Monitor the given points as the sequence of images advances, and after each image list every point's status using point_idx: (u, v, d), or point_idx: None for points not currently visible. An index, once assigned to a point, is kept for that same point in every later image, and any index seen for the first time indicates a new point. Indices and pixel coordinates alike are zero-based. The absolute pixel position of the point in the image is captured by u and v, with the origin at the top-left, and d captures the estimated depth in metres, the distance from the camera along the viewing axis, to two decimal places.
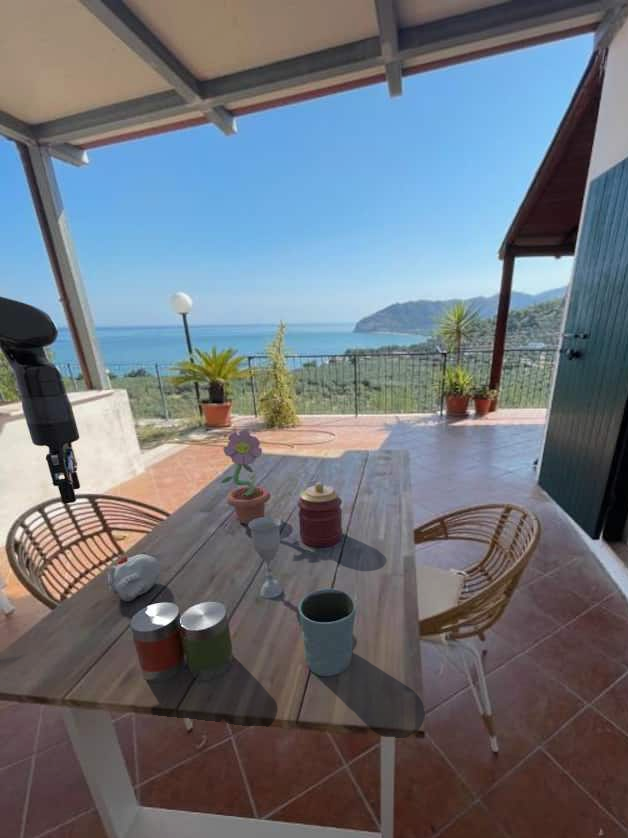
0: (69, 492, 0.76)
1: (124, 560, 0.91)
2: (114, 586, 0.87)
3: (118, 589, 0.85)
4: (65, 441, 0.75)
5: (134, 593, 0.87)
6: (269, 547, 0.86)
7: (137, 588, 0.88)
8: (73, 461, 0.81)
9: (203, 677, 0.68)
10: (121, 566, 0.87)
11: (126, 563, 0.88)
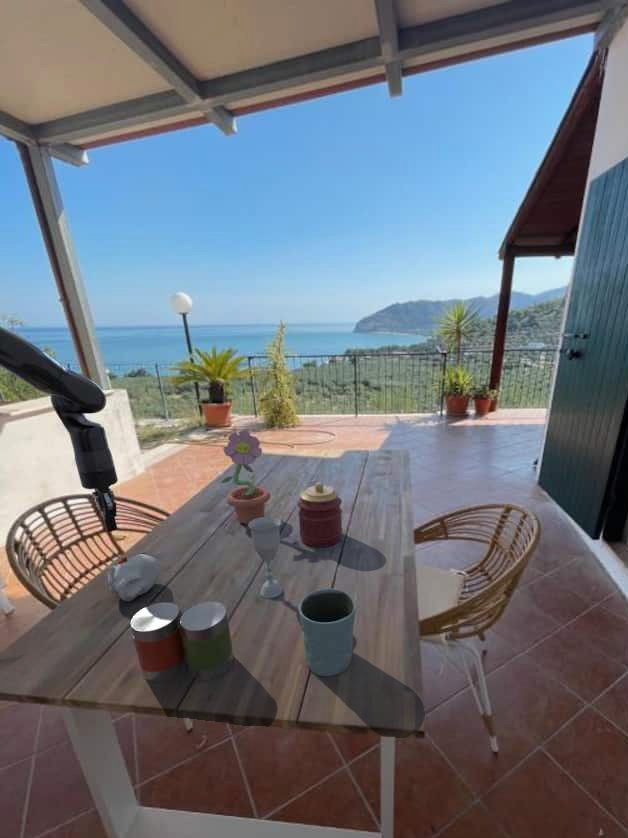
0: (113, 522, 0.99)
1: (124, 560, 0.91)
2: (114, 586, 0.87)
3: (118, 589, 0.85)
4: (111, 483, 0.95)
5: (134, 593, 0.87)
6: (269, 547, 0.86)
7: (137, 588, 0.88)
8: None
9: (203, 677, 0.68)
10: (121, 566, 0.87)
11: (126, 563, 0.88)
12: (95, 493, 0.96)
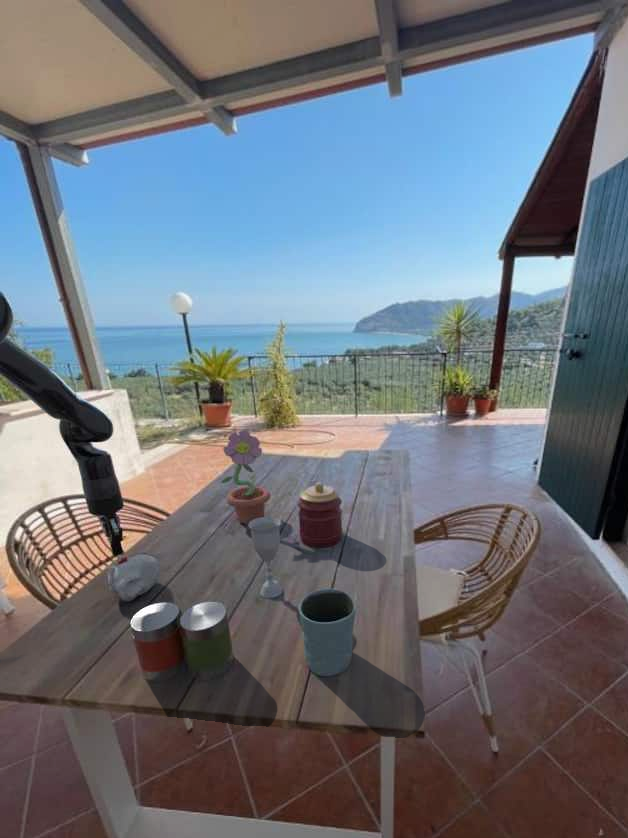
0: (119, 547, 1.01)
1: (124, 560, 0.91)
2: (114, 586, 0.87)
3: (118, 589, 0.85)
4: (118, 509, 0.97)
5: (134, 593, 0.87)
6: (269, 547, 0.86)
7: (137, 588, 0.88)
8: None
9: (203, 677, 0.68)
10: (121, 566, 0.87)
11: (126, 563, 0.88)
12: (101, 518, 0.98)
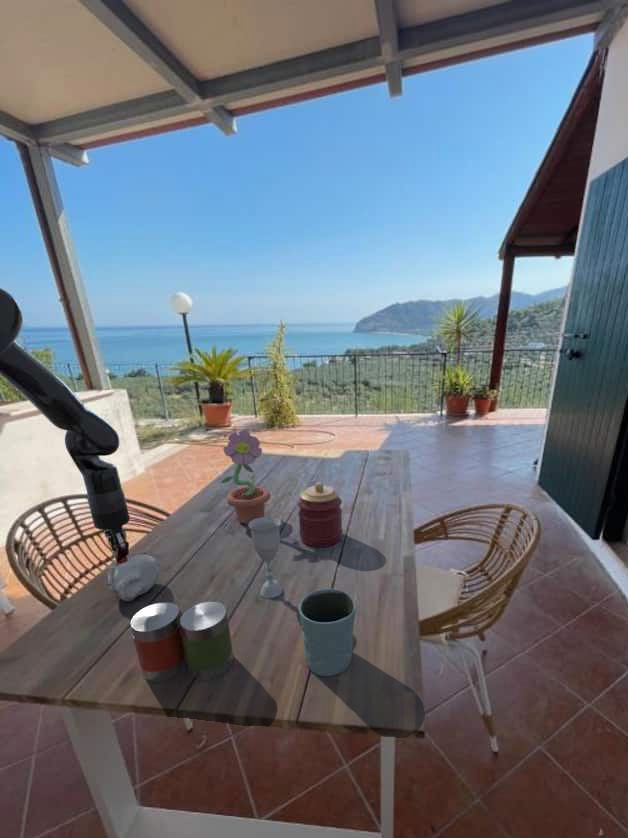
0: None
1: (124, 560, 0.91)
2: (114, 586, 0.87)
3: (118, 589, 0.85)
4: (124, 523, 0.95)
5: (134, 593, 0.87)
6: (269, 547, 0.86)
7: (137, 588, 0.88)
8: None
9: (203, 677, 0.68)
10: (121, 566, 0.87)
11: (126, 563, 0.88)
12: (107, 532, 0.96)
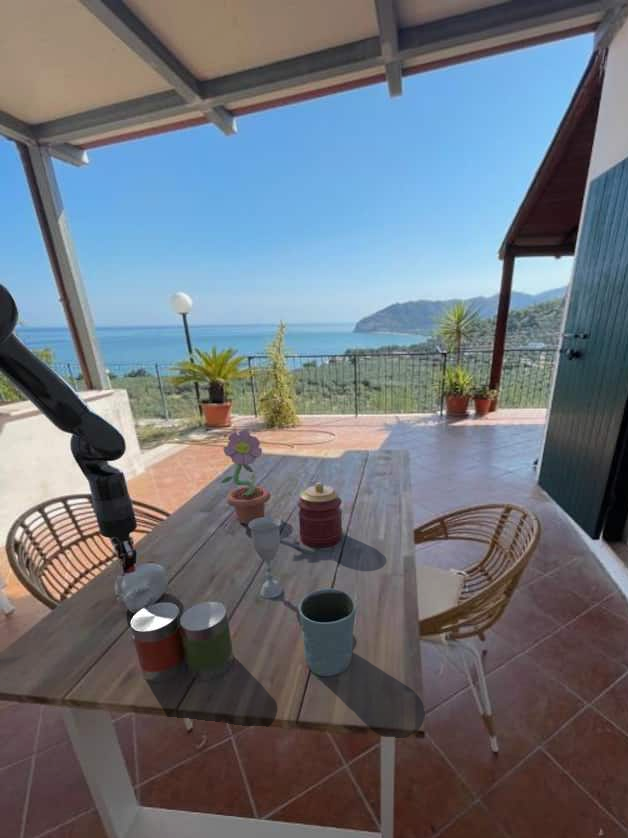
0: None
1: (132, 569, 0.87)
2: (121, 597, 0.83)
3: (126, 600, 0.81)
4: (131, 530, 0.91)
5: (142, 604, 0.83)
6: (269, 547, 0.86)
7: (145, 599, 0.84)
8: None
9: (203, 677, 0.68)
10: (129, 576, 0.83)
11: (134, 573, 0.85)
12: (113, 540, 0.92)
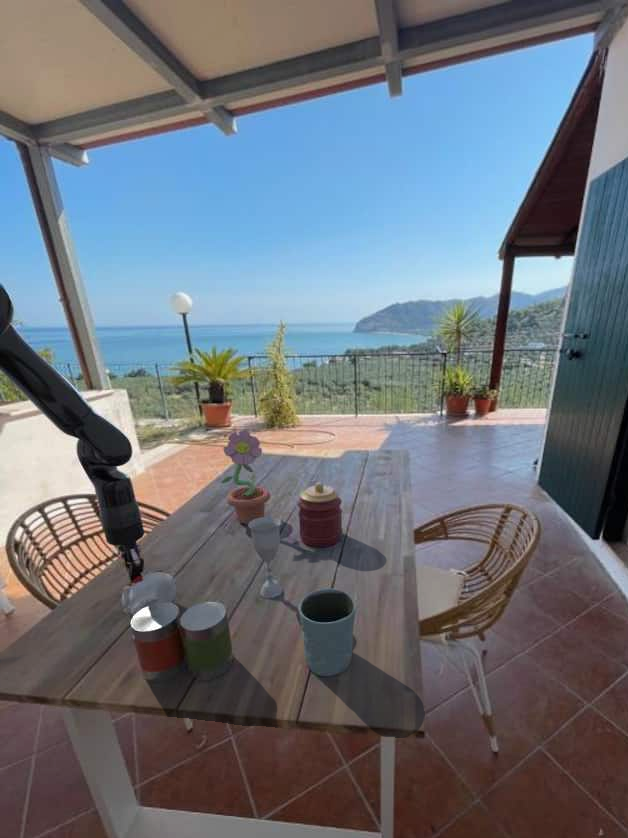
0: None
1: (139, 579, 0.83)
2: (129, 608, 0.80)
3: (133, 612, 0.78)
4: (138, 538, 0.87)
5: None
6: (269, 547, 0.86)
7: None
8: None
9: (203, 677, 0.68)
10: (136, 587, 0.80)
11: (142, 583, 0.81)
12: (120, 547, 0.89)
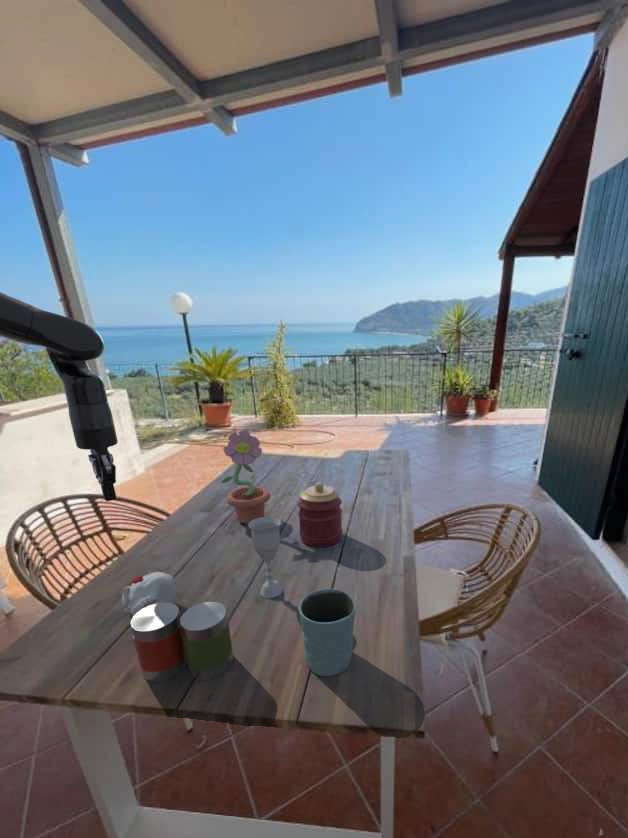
0: (112, 490, 0.87)
1: (139, 579, 0.83)
2: (129, 608, 0.80)
3: (133, 612, 0.78)
4: (110, 444, 0.83)
5: None
6: (269, 547, 0.86)
7: None
8: None
9: (203, 677, 0.68)
10: (136, 587, 0.80)
11: (142, 583, 0.81)
12: (92, 456, 0.84)
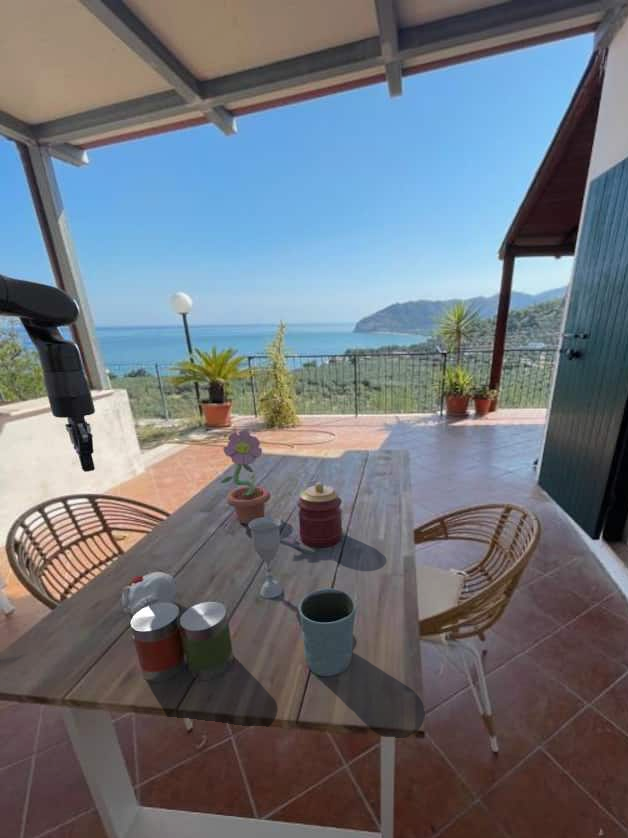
0: (90, 461, 0.87)
1: (139, 579, 0.83)
2: (129, 608, 0.80)
3: (133, 612, 0.78)
4: (87, 413, 0.82)
5: None
6: (269, 547, 0.86)
7: None
8: None
9: (203, 677, 0.68)
10: (136, 587, 0.80)
11: (142, 583, 0.81)
12: (69, 425, 0.84)
